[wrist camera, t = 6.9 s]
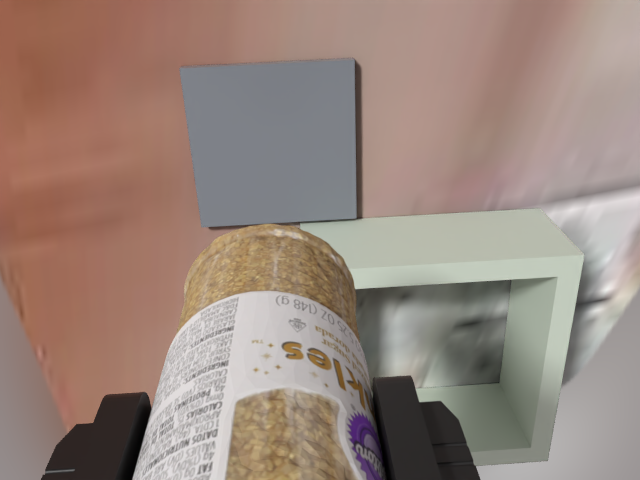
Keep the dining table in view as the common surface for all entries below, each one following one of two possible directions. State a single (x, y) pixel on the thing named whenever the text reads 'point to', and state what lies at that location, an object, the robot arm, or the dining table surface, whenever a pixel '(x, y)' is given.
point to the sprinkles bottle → (265, 368)
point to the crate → (522, 320)
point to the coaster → (272, 140)
